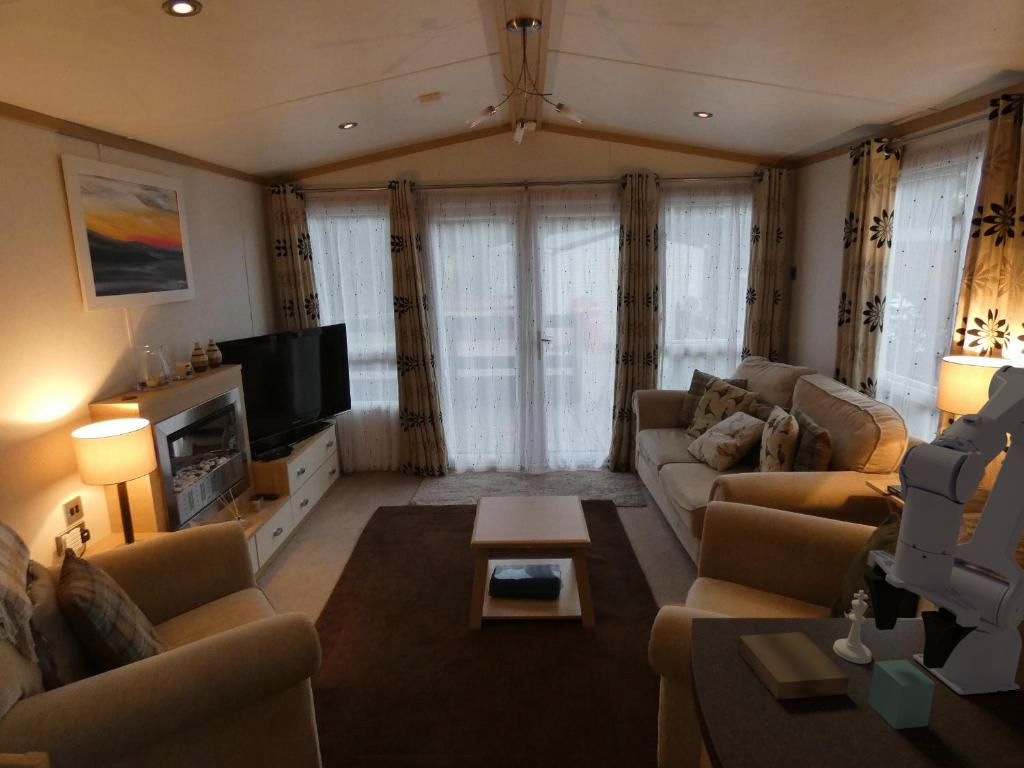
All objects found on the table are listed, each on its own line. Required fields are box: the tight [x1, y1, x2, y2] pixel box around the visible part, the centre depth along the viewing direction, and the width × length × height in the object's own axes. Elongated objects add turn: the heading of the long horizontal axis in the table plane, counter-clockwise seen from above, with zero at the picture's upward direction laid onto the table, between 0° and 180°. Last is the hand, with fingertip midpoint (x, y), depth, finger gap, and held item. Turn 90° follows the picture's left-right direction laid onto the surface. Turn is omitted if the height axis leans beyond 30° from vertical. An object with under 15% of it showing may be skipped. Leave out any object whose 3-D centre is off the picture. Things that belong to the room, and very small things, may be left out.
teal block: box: [867, 659, 936, 730], centre depth 74 cm, size 4×4×6 cm
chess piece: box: [833, 589, 872, 665], centre depth 86 cm, size 5×5×10 cm
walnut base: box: [737, 631, 850, 700], centre depth 82 cm, size 10×10×2 cm
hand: (907, 646), depth 73 cm, fingers open, 7 cm apart
